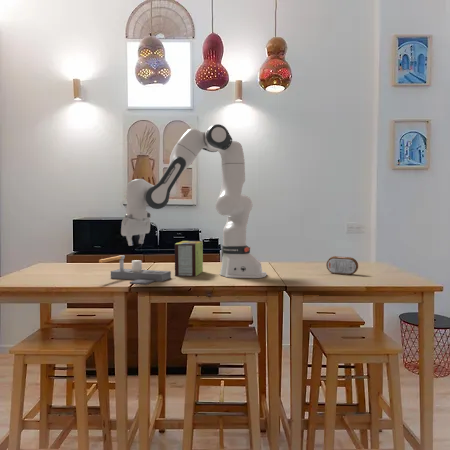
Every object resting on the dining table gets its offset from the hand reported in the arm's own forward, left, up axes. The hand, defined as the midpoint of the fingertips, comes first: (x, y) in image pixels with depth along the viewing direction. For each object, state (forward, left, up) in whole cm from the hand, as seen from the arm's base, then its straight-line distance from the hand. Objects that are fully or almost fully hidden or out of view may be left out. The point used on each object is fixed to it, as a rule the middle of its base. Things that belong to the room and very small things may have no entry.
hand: (135, 244), depth 199 cm
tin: (-89, -42, -16) cm, 100 cm away
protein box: (-18, -19, -16) cm, 31 cm away
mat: (-8, +9, -16) cm, 20 cm away
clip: (+8, +7, -7) cm, 13 cm away
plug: (0, 0, -16) cm, 16 cm away
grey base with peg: (-2, 0, -16) cm, 16 cm away
